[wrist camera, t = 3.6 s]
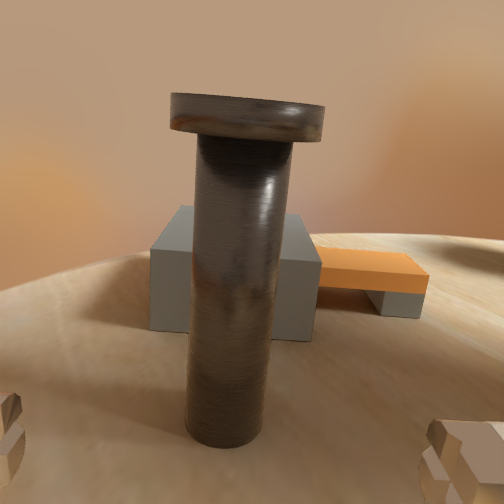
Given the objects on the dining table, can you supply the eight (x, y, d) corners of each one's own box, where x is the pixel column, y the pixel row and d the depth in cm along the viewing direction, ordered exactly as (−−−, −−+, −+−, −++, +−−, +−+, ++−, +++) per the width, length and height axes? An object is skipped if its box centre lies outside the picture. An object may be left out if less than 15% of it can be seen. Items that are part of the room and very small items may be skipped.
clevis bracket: (388, 280, 40) (399, 222, 38) (446, 351, 28) (467, 273, 26) (179, 263, 39) (181, 205, 37) (149, 330, 27) (150, 248, 26)
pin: (278, 386, 23) (313, 107, 18) (288, 470, 17) (339, 106, 13) (174, 379, 23) (183, 96, 18) (150, 462, 17) (155, 89, 13)
